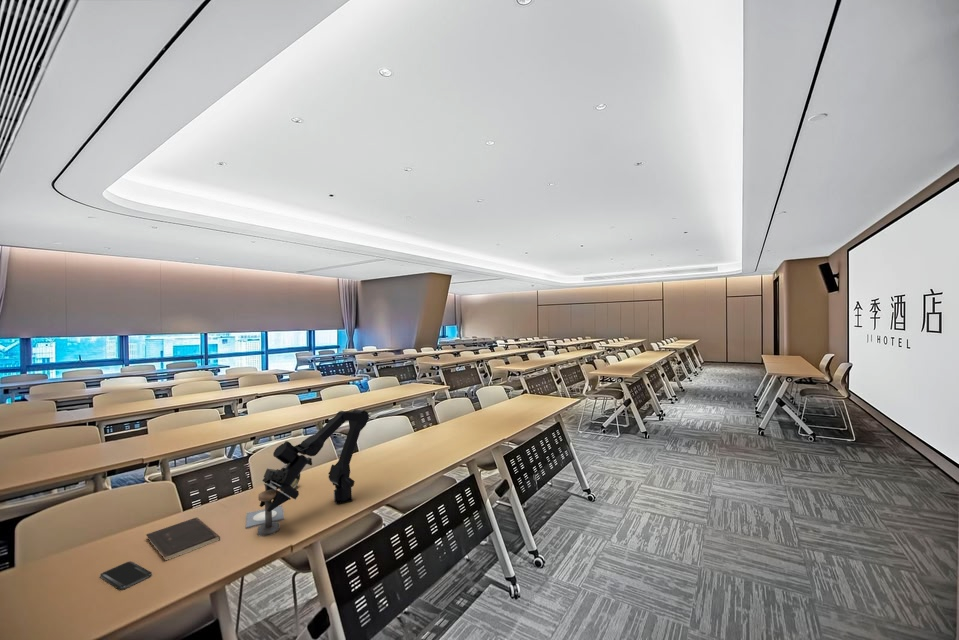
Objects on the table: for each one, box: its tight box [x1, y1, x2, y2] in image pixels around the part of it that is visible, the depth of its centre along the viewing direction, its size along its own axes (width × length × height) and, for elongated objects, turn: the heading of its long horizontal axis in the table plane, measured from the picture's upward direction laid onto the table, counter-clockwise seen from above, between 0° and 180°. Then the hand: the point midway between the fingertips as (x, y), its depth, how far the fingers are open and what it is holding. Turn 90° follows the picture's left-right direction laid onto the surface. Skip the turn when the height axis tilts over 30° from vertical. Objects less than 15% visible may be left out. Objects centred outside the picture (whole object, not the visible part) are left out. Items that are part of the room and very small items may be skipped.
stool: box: [257, 490, 281, 537], centre depth 147 cm, size 7×7×14 cm
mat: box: [245, 504, 285, 529], centre depth 158 cm, size 13×13×1 cm
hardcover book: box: [145, 517, 221, 561], centre depth 143 cm, size 16×23×2 cm
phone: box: [99, 560, 153, 591], centre depth 122 cm, size 8×1×15 cm
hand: (264, 508), depth 146 cm, fingers open, 6 cm apart
